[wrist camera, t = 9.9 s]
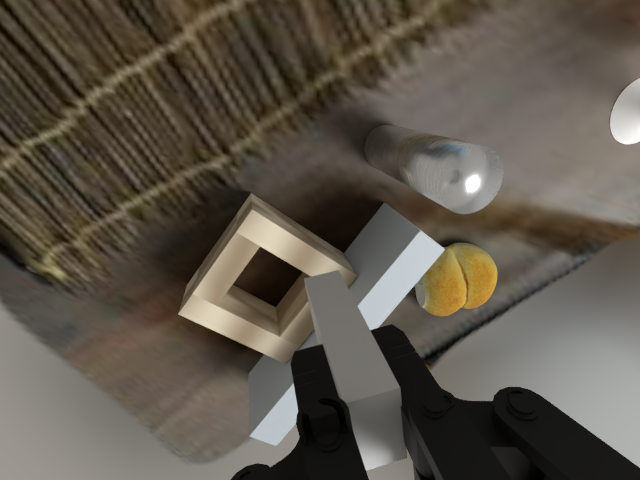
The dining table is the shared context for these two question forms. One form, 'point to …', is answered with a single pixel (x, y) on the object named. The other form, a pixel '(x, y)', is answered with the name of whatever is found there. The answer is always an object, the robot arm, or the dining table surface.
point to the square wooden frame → (247, 310)
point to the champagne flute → (627, 115)
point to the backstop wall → (371, 298)
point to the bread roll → (457, 280)
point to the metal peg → (437, 166)
